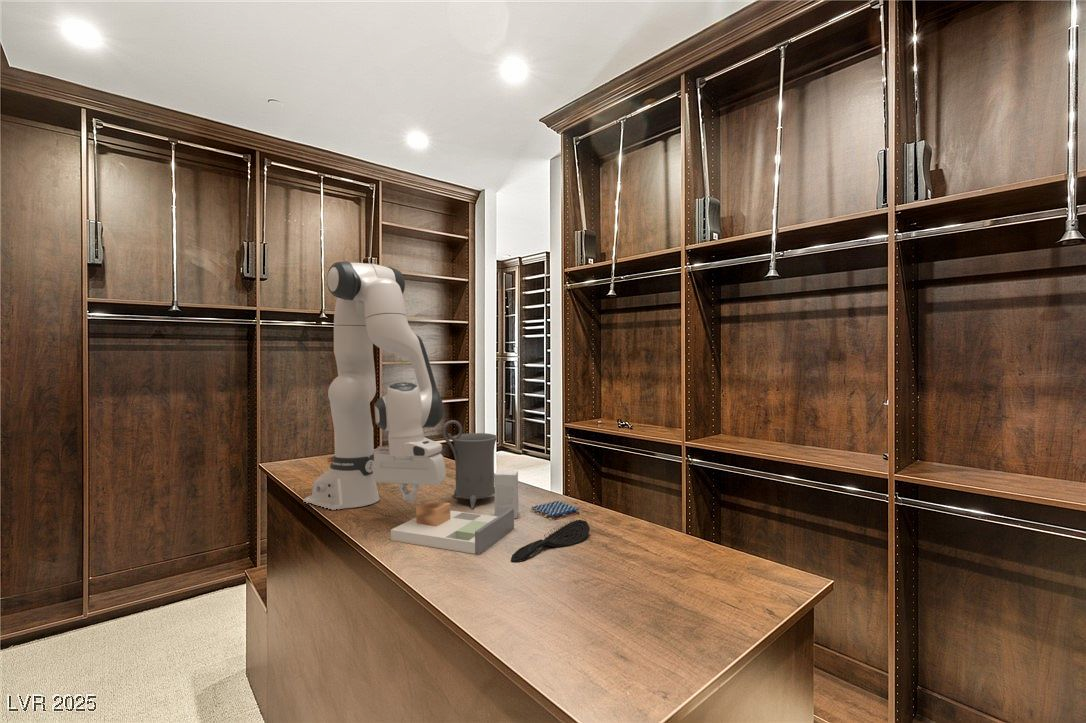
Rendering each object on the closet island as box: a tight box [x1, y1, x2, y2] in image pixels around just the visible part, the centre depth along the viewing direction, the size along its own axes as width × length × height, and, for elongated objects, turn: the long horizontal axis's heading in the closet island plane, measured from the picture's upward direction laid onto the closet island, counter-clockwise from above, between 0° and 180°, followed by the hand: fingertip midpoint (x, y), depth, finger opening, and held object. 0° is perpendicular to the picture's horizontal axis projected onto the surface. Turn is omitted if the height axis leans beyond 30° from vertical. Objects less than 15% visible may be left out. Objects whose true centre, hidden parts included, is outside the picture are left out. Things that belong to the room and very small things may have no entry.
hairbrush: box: [510, 516, 591, 564], centre depth 118 cm, size 8×4×25 cm
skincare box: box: [494, 470, 520, 520], centre depth 139 cm, size 6×4×12 cm
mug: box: [441, 419, 498, 510], centre depth 153 cm, size 19×15×25 cm
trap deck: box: [390, 508, 515, 555], centre depth 125 cm, size 24×18×5 cm
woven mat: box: [530, 500, 581, 521], centre depth 142 cm, size 10×11×2 cm
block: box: [415, 500, 451, 526], centre depth 127 cm, size 6×6×4 cm
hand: (410, 500), depth 130 cm, fingers closed
